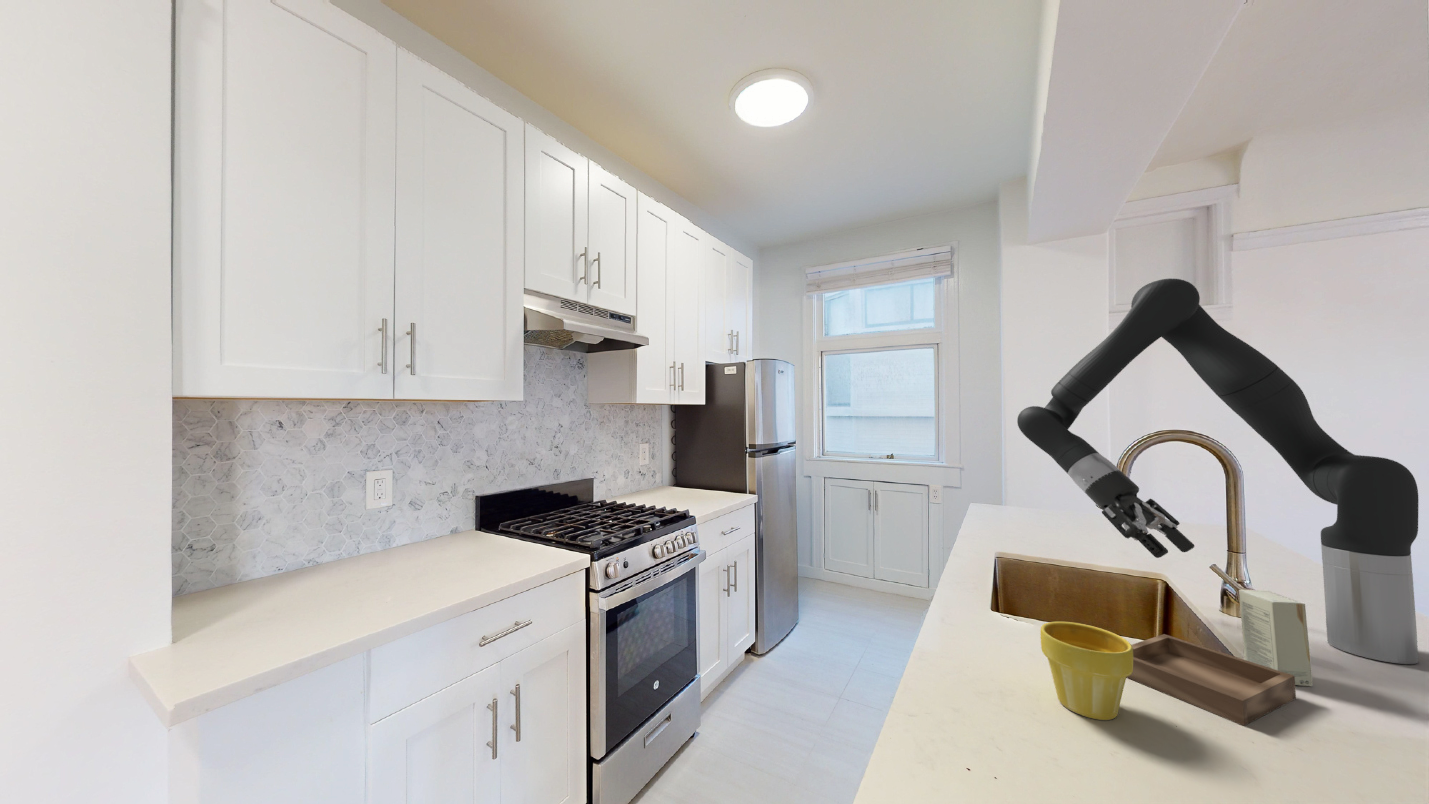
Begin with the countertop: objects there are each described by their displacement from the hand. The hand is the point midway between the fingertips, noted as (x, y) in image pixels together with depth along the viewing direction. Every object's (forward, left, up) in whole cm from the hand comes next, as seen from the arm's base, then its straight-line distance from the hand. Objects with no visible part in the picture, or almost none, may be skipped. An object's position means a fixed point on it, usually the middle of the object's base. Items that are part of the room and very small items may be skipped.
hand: (1176, 552), depth 87 cm
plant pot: (+35, +5, -16) cm, 39 cm away
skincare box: (0, +12, -16) cm, 20 cm away
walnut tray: (+14, +8, -16) cm, 23 cm away
